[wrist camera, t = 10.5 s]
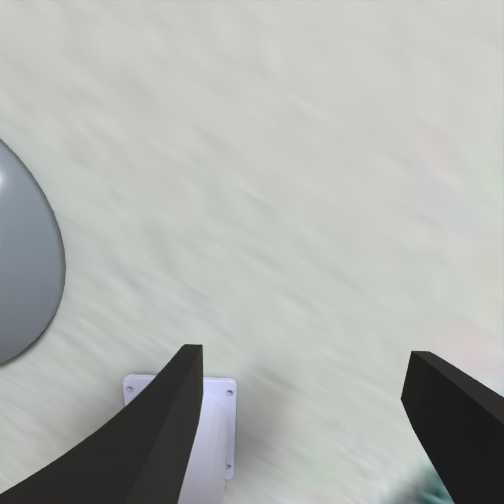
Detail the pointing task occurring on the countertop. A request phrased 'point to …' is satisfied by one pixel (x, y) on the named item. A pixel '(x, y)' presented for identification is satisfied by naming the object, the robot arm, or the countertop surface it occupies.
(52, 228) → the plate
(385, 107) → the countertop surface
